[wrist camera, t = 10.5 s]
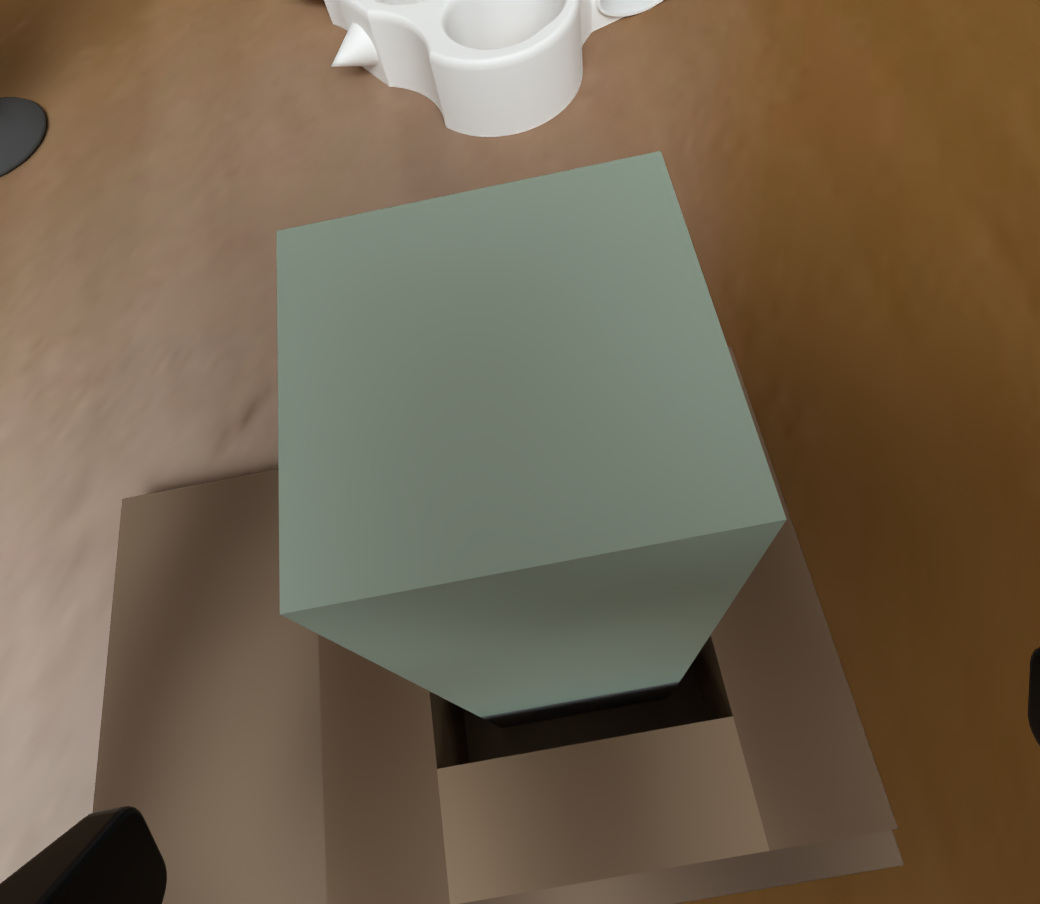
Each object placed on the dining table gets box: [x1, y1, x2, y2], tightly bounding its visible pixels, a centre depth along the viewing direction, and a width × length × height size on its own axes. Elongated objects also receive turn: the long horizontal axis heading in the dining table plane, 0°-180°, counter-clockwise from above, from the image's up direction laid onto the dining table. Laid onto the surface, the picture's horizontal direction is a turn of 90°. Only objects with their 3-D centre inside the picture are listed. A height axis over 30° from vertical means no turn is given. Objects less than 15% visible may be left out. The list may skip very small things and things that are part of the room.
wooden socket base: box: [93, 346, 904, 904], centre depth 17 cm, size 18×12×4 cm, turn 99°
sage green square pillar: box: [277, 151, 787, 728], centre depth 12 cm, size 4×4×12 cm
